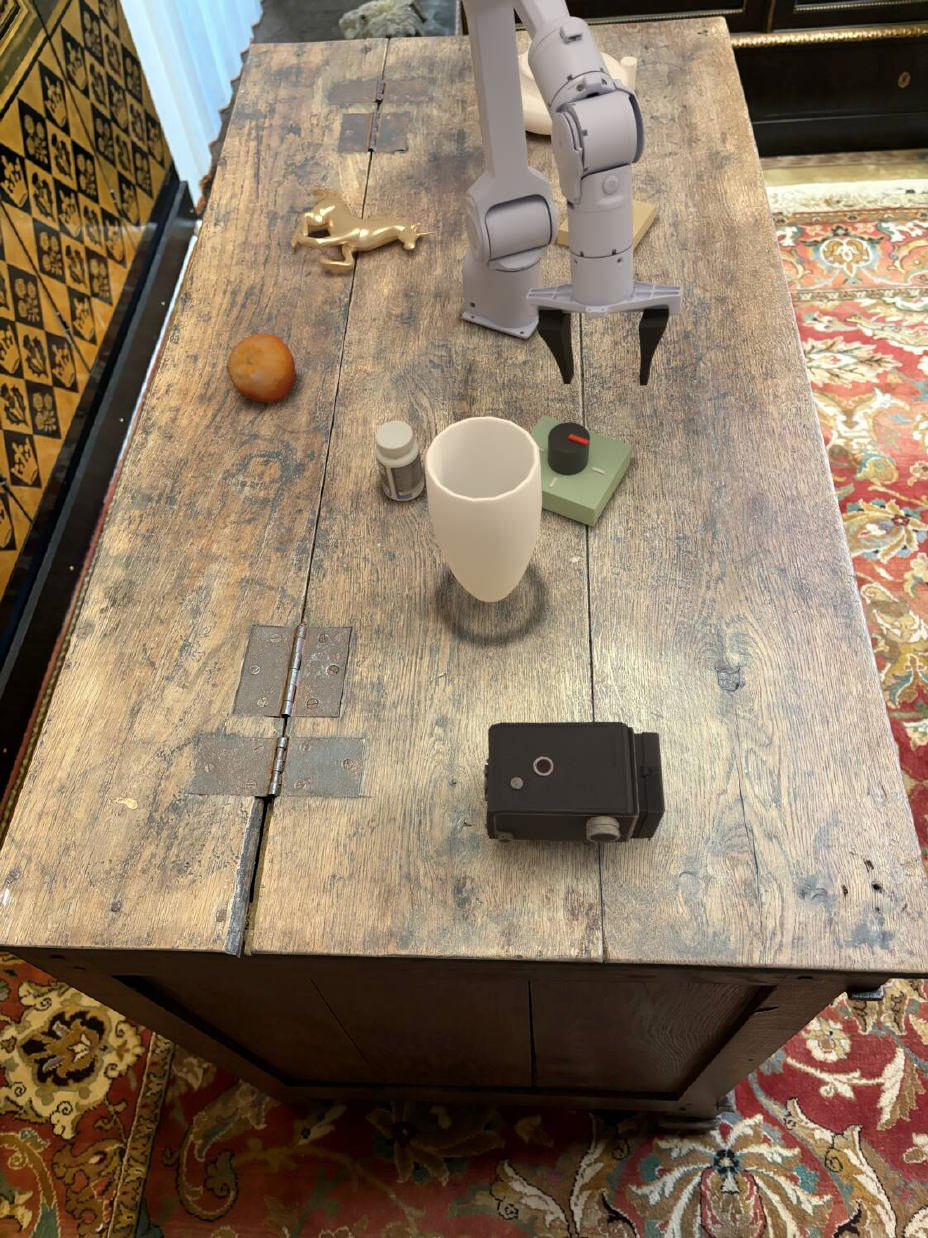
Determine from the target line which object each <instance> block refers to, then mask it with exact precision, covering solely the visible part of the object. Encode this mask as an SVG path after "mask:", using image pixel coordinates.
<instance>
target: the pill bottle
mask: <svg viewBox="0 0 928 1238" xmlns="http://www.w3.org/2000/svg"><path fill="white" fill-rule="evenodd" d="M374 438H375V443H376V446H375V449H374V454H375V459H376V463H377V467H378V472H379V475H380V482H381V486H382V490H383V491H384V494H385V495H386V496H387V497H388V498H390V499H392V500H394V501H397V502H408V501H410V500H413V499H415V498H417V497H419V495H420V494H421V493H422V492H423V490H424V487H425V477H424V471H423V465H422V460H421V452H420V446H419V443H418V441H417V440H416V438H415V435H414V432H413V429H412V427H411V426H410V424H408V423H407V422H405V421H402V420H390V421H387V422H385V423H383V424H381V425H380V426H379V427H378V428H377V430H376V432H375V436H374Z"/></svg>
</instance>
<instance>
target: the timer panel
mask: <svg viewBox="0 0 928 1238" xmlns="http://www.w3.org/2000/svg"><path fill="white" fill-rule="evenodd" d="M561 423H566V421H563V420H560V419H557V418H555V417H552V416H549V415H545V414H542V415H541V416H540V418H539V419H538V420H537V422H536V424H535V425H534V427H533V428H532V429H531V431H530V432H529V434H530V435H531V437H532V438H533V440H534V441H535V443H536V444H537V445H538V447H539V454H540V464H541V489H542V508H541V509H545V510H547V511H550V512H552V513H556V514H558V515H559V516H563V517H565V518H569V519H571V520H573V521H575V522H579V523H582V524H584V525H587V526H589V527H592V528H594V527H595V526H596V523H597V522H598V520H599V518H600V516H601V515H602V513H603V512H604V510H605V508H606V507H607V505H608V503H609V501H610V499H611V498H612V496H613V494H614V493H615V491H616V490H617V487H618V486H619V484H620V482H621V480H622V479H623V477H624V475H625V473H627V470H628V468H629V467H630V465H631V462H632V454H633V447H634V446H633V445H632V444H629V443H626V442H623V441H621V440H618V439H616V438H613V437H609V436H606V435H604V434H601V433H598V432H595V431H592V430H589V429H587V431H588V432H589V435H590V444H589V456H588V464H587V466H586V467H585V468H584V470H582V471H581V472H579V473H577V474H573V475H563V474H559V473H557V472H555V471H554V470H552V469H551V467H550V466H549V464H548V435H549V432H550V431H551V429H552V428H553V427H555V426H556V425H558V424H561Z"/></svg>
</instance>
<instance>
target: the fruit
mask: <svg viewBox="0 0 928 1238" xmlns="http://www.w3.org/2000/svg"><path fill="white" fill-rule="evenodd" d="M225 368H226V372H227V373H228V376H229V379H230V381H231V383H232V386H233V387H234V388H235V389H236V390H237V392H239V393H240V394H242V395H243V396H245V397H247V398H248V399H252V400H253V401H256V402H261V403H277V402H280V401H282V400H284V399H286V398H287V397H288V396H289V395H290V394H291V392H292V391H293V389H294V387H295V384H296V364H295V359H294V357H293V354H292V352H291V350H290V349H289V347H288V345H286V343H285V342H284V341H283V340H282V339H281V338H280V337H278V336H276V335H272V334H265V333H259V334H252V335H249V336H246V337H244V338H243V339H242V340H240V341H238V342H237V344H236V345H234V347H233V348H232V350H231V352H230V355H229V357H228V360H227V363H226V367H225Z"/></svg>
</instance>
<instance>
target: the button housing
mask: <svg viewBox="0 0 928 1238" xmlns="http://www.w3.org/2000/svg"><path fill="white" fill-rule="evenodd" d="M656 211H657V205H656V204H653V203H649V202H645V201H641V200H637V199H633V251H635V249H636V248H637V246H638V245H639V243H640V242H641V240H642V238H643V237H644V236H645V235H646V233H647V232H648V230H649V229H650V227H651V225H652V224H653V223H654V221H655V219H656V218H655V217H656ZM556 239H557V241H556V242H557V244H559V245H563V246H567V247H569V234H568V218H567V217H565V218H564V220H563V221H562V222H561V224H560V225H559V230H558V235H557V237H556Z"/></svg>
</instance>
